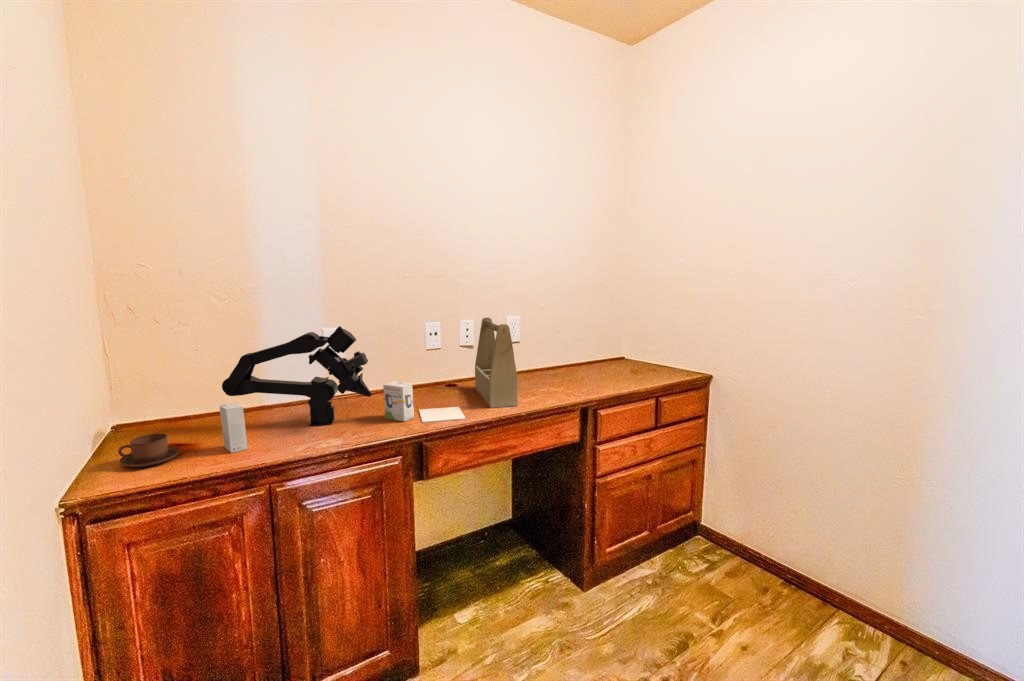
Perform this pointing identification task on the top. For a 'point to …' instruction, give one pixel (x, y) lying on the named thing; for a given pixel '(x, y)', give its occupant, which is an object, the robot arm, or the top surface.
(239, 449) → the skincare box
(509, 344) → the caddy
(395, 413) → the ink box
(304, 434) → the top surface
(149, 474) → the top surface
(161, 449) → the cup and saucer
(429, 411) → the mat
